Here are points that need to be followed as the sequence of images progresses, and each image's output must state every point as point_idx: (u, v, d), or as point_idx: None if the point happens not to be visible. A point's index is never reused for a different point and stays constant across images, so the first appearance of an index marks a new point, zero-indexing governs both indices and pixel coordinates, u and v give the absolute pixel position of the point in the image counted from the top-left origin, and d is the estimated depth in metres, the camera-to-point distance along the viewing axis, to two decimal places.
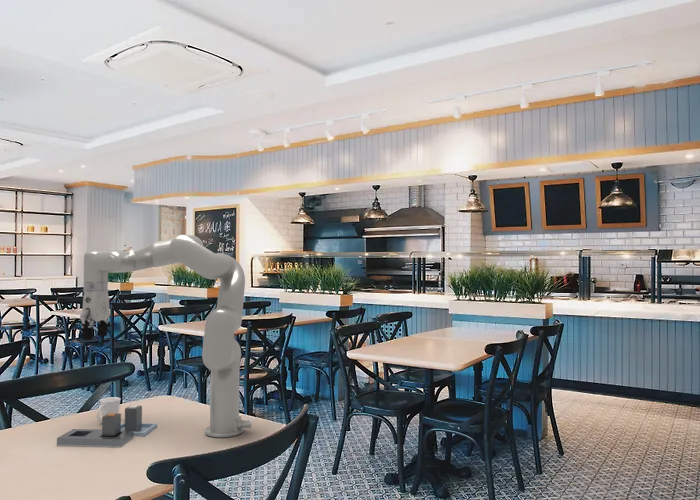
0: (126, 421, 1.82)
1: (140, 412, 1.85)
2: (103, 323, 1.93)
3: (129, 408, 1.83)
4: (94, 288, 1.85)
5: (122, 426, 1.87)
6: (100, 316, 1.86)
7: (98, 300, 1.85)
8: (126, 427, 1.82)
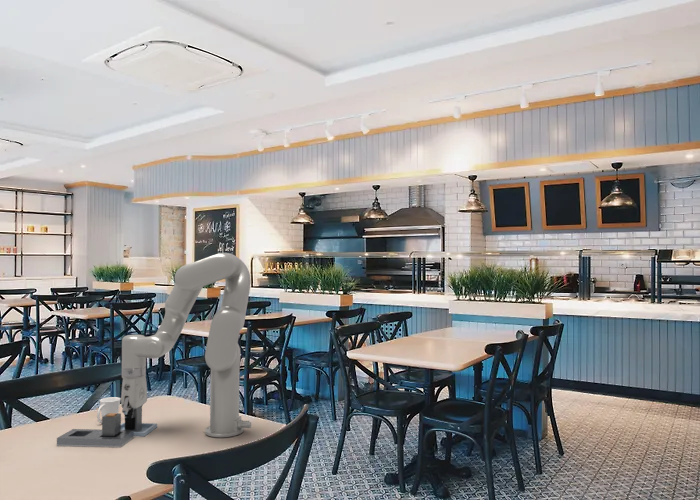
0: None
1: (140, 412, 1.85)
2: None
3: None
4: (133, 375, 1.81)
5: (122, 426, 1.87)
6: (139, 403, 1.82)
7: (137, 387, 1.81)
8: None
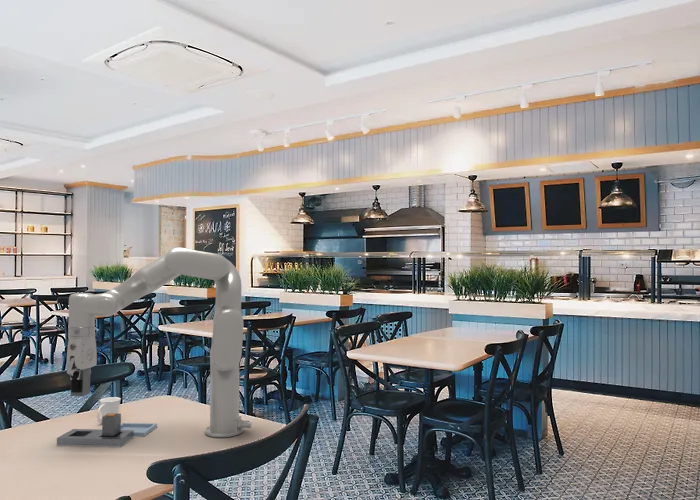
0: None
1: (88, 374, 1.75)
2: None
3: None
4: (80, 334, 1.71)
5: (122, 426, 1.87)
6: (86, 364, 1.72)
7: (83, 347, 1.71)
8: None
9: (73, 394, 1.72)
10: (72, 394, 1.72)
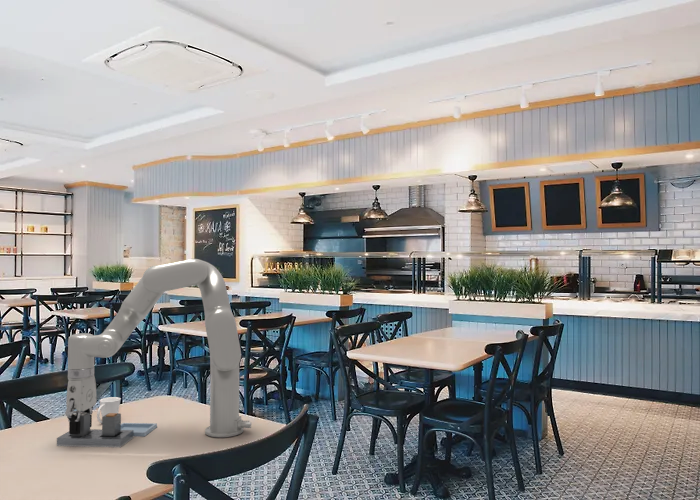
0: None
1: (88, 419, 1.75)
2: None
3: None
4: (79, 376, 1.70)
5: (122, 426, 1.87)
6: (86, 406, 1.72)
7: (83, 389, 1.71)
8: None
9: None
10: None
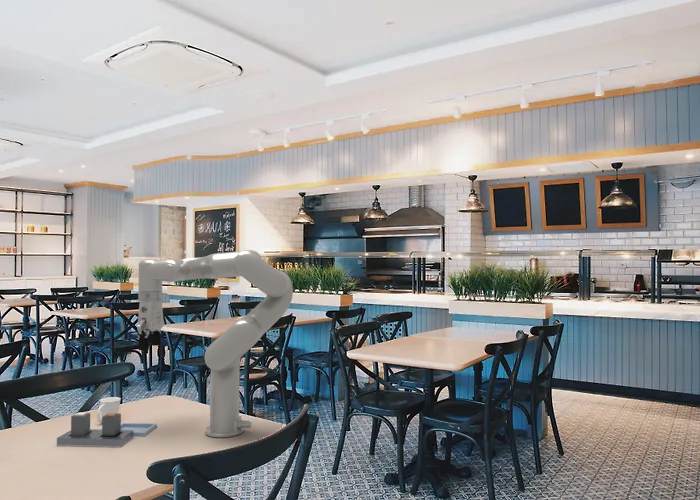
0: (72, 429, 1.72)
1: (88, 420, 1.75)
2: (157, 333, 1.90)
3: (76, 415, 1.72)
4: (150, 298, 1.82)
5: (122, 426, 1.87)
6: (156, 326, 1.83)
7: (153, 310, 1.82)
8: None
9: None
10: None
